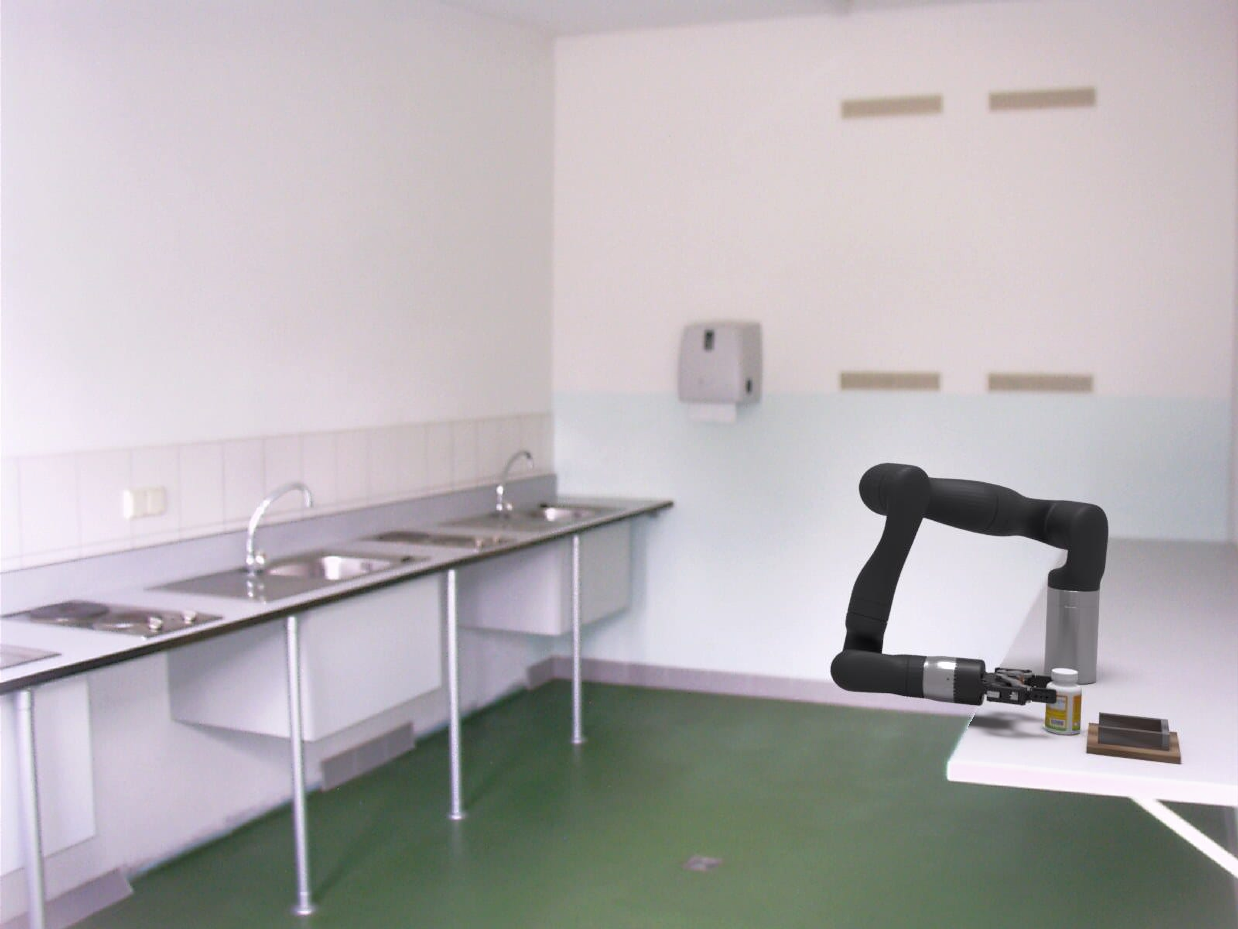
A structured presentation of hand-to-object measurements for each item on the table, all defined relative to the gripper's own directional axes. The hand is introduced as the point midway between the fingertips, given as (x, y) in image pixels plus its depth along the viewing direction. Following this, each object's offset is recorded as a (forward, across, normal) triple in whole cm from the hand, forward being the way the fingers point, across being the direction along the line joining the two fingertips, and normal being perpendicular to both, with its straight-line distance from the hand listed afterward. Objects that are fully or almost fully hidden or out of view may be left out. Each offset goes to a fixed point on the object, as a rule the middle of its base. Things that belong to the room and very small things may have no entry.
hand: (1058, 690), depth 202 cm
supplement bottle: (+1, 0, +7) cm, 7 cm away
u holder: (+11, -4, +6) cm, 13 cm away
